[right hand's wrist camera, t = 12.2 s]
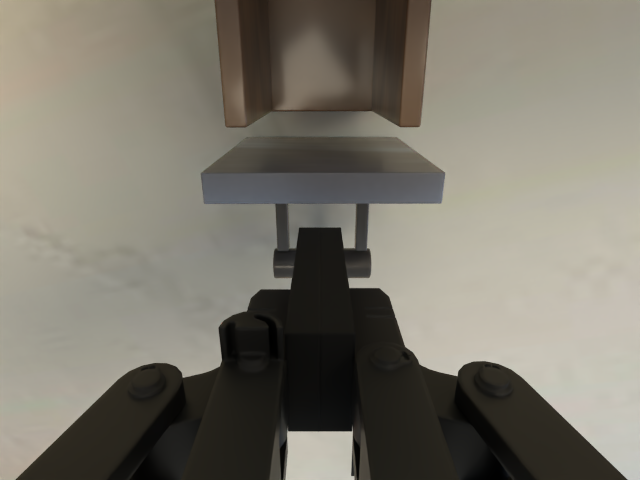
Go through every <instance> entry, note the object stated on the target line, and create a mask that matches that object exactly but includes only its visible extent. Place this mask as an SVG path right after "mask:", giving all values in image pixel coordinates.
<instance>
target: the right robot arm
mask: <svg viewBox="0 0 640 480" xmlns="http://www.w3.org/2000/svg"><path fill="white" fill-rule="evenodd" d="M219 336H220V345H221V354H222V362H221V365H220V367H218V368H216V369H214V370H212V371H209V372H206V373H203V374H199V375H194V376H190V377H185V378H182V373H181V371H180V370H179V369H178V368H177V367H176V366H173V365H170V364H167V363H153V364H148V365H143V366H140V367H138V368H136V369H134V370H131V371H129V372H128V373H126V374H125V375H124V376H122V377H121V378H120V379H118V380H117V381H116V382H115V383H114V384H113V385H112V386H111V387H110V388H109V389H108V390H107V391H106V392H105V393H104V394H103V395H102V396H101V397H100V398H99V399H98V400H97V401H96V402H95V403H94V404H93V405H92V406H91V407H90V408H89V409H88V410H87V411H86V412H85V413H84V414H83V415H81V416H80V417H79V418H78V419H77V420H76V421H75V422H74V423H73V424H72V425H71V426H70V427H69V428H68V429H67V430H66V431H65V432H64V433H63V434H62V435H61V436H60V437H59V438H58V439H57V440H56V441H55V442H54V443H53V444H52V445H51V446H50V447H49V448H48V449H47V450H46V451H45V452H44V453H42V454H41V455H40V456H39V457H38V458H37V459H36V460H35V461H34V462H33V463H32V464H31V465H30V466H29V467H28V468H27V469H26V470H25V471H24V472H23V473H22V474H21V475H20V476H19V477H18V478H17V479H16V480H285V478H286V466H287V454H288V447H287V429H288V431H352V427H353V447H352V471H351V476H354V477H355V480H627V479H626V478H625V477H624V476H623V475H622V474H621V473H620V472H619V471H618V470H617V469H616V468H615V467H614V466H613V465H612V464H611V463H610V462H609V461H608V460H607V459H605V458H604V457H603V456H602V455H601V454H600V453H599V452H598V451H597V450H596V449H595V448H594V447H593V446H592V445H591V444H590V443H589V442H588V441H587V440H586V439H585V438H584V437H583V436H582V435H581V434H580V433H579V432H578V431H577V430H575V429H574V428H573V427H572V426H571V425H570V424H569V423H568V422H567V421H566V420H565V419H564V418H563V417H562V416H561V415H560V414H559V413H558V412H557V411H556V410H555V409H554V408H553V407H552V406H551V405H550V404H549V403H548V402H547V401H546V400H544V399H543V398H542V397H541V396H540V395H539V394H538V393H537V392H536V391H535V390H534V389H533V388H532V387H531V386H530V385H529V384H528V383H527V382H526V381H525V380H524V379H523V378H522V377H520V376H519V375H518V374H516V373H515V372H514V371H512V370H511V369H508V368H506V367H504V366H502V365H499V364H495V363H491V362H486V361H480V362H471V363H468V364H465V365H464V366H463V367H462V368H461V369H460V370H459V371H458V376H453V375H449V374H444V373H440V372H436V371H433V370H430V369H427V368H425V367H423V366H421V365H420V364H419V362H418V360H417V358H416V356H415V355H414V353H413V352H411V351H410V350H409V349H407V348H406V347H405V345H404V342H403V339H402V336H401V333H400V330H399V327H398V323H397V320H396V318H395V314H394V311H393V309H392V305H391V302H390V298H389V297H388V296H387V295H386V294H385V293H384V292H383V291H382V290H381V289H380V288H349V283H348V276H347V269H346V262H345V255H344V248H343V241H342V234H341V228H299V234H298V241H297V248H296V255H295V262H294V269H293V276H292V283H291V290H260V291H259V292H257V293H256V294H255V295H254V296H253V297H252V298H251V300H250V303H249V306H248V310H247V312H241V313H238V314H235V315H232V316H231V317H229V318H228V319H226V320H224V321H223V322H222V324H221V325H220V326H219Z"/></svg>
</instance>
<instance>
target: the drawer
mask: <svg viewBox="0 0 640 480" xmlns="http://www.w3.org/2000/svg"><path fill="white" fill-rule="evenodd" d="M215 11H216V22H217V34H218V46H219V57H220V69H221V81H222V92H223V104H224V116H225V126H226V127H247V126H249V125H250V124H252V123H254V122H255V121H257V120H258V119H260V118H262V117H263V116H265V115H266V114H268V113H270V112H271V111H373V112H375V113H377V114H378V115H380V116H382V117H384V118H385V119H387V120H389V121H391V122H392V123H394V124H396V125H398V126H399V127H419V126H420V125H421V114H422V103H423V91H424V80H425V68H426V57H427V46H428V34H429V23H430V11H431V0H215ZM444 179H445V172H443V171H442V170H441V169H439V168H438V167H436V166H435V165H434V164H432V163H431V162H430V161H428V160H427V159H426V158H424V157H423V156H422V155H420V154H419V153H417V152H416V151H415V150H413V149H412V148H411V147H409V146H408V145H407V144H405V143H404V142H402V141H401V140H400V139H398V138H397V137H290V138H246V139H244V140H243V141H242V142H240V143H239V144H238V145H237V146H235V147H234V148H233V149H231V150H230V151H229V152H228V153H226V154H225V155H224V156H222V157H221V158H220V159H219V160H217V161H216V162H215V163H213V164H212V165H211V166H210V167H208V168H207V169H206V170H204V171H203V172H202V173H201V180H202V189H203V198H204V203H205V204H276V225H277V248H276V249H275V250H274V258H273V270H274V277H275V278H292V276H293V269H294V262H295V255H296V248H289V247H290V244H289V212H288V204H356V224H355V248H344V255H345V262H346V269H347V276H348V278H370V275H371V253H370V249H369V248H367V235H368V213H369V204H375V203H442V196H443V188H444Z"/></svg>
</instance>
